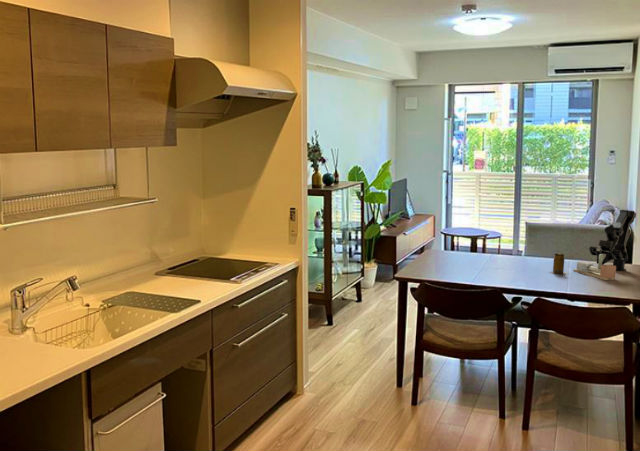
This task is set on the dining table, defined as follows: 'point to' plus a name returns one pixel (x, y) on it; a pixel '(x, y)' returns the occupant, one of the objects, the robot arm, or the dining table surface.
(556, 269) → the condiment
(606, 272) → the socket
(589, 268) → the beige cradle bracket
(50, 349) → the dining table surface
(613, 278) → the base rail
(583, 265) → the sleeve
